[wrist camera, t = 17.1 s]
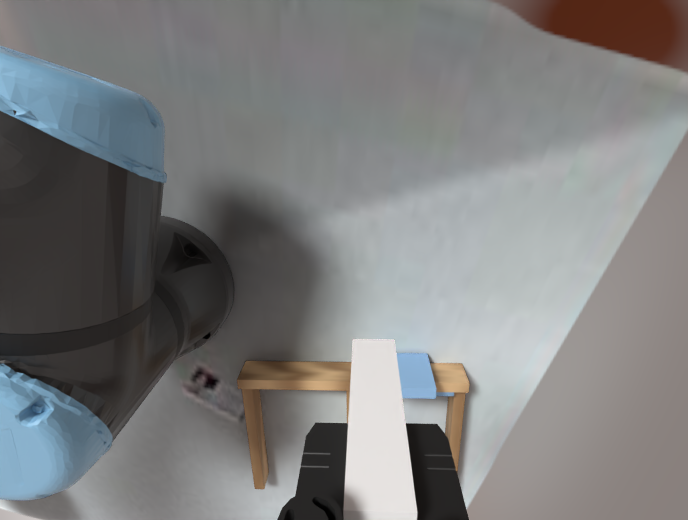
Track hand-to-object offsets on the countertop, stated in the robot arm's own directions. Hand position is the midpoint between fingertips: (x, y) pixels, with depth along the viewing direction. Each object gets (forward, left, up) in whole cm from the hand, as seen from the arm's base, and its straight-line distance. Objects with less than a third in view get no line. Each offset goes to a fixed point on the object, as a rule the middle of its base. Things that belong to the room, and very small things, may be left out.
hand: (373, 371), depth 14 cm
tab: (+4, -17, -26) cm, 31 cm away
